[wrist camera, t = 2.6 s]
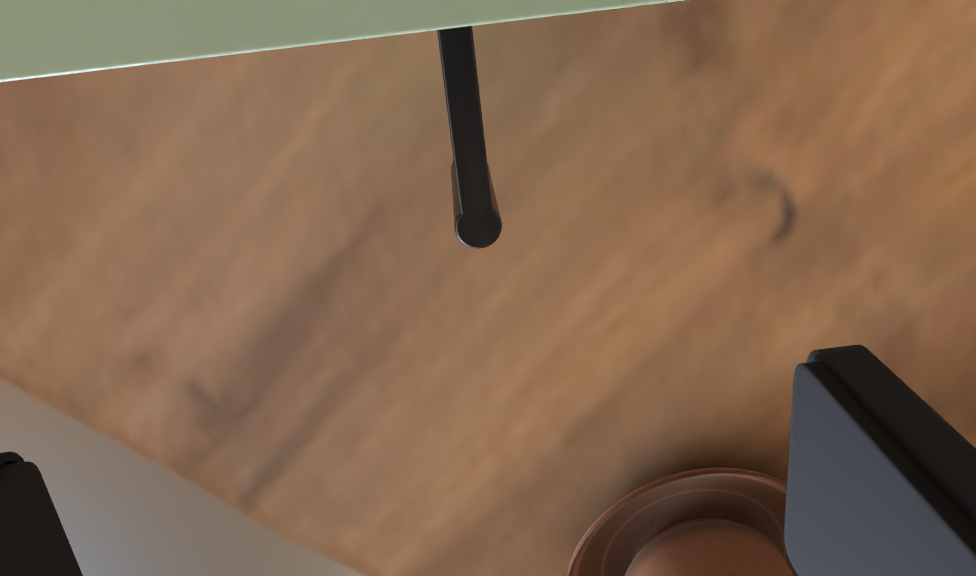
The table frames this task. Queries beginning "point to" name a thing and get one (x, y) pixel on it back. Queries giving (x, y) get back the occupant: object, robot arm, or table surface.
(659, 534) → the cup and saucer
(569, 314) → the table surface
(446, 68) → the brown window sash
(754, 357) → the table surface
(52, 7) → the window frame
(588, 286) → the table surface
